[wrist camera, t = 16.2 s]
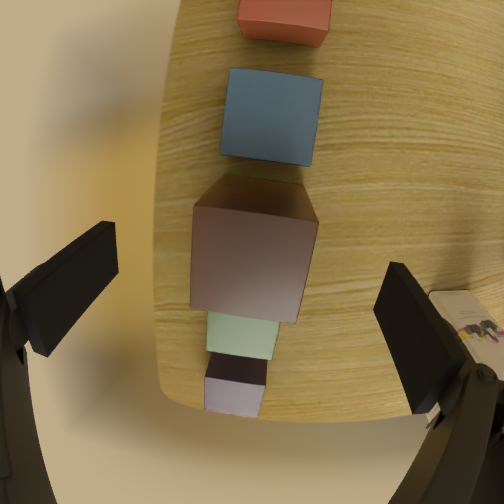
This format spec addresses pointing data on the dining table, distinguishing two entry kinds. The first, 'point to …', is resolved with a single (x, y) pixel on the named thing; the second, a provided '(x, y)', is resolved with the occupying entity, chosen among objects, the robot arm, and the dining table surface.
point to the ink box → (471, 330)
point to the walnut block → (252, 248)
